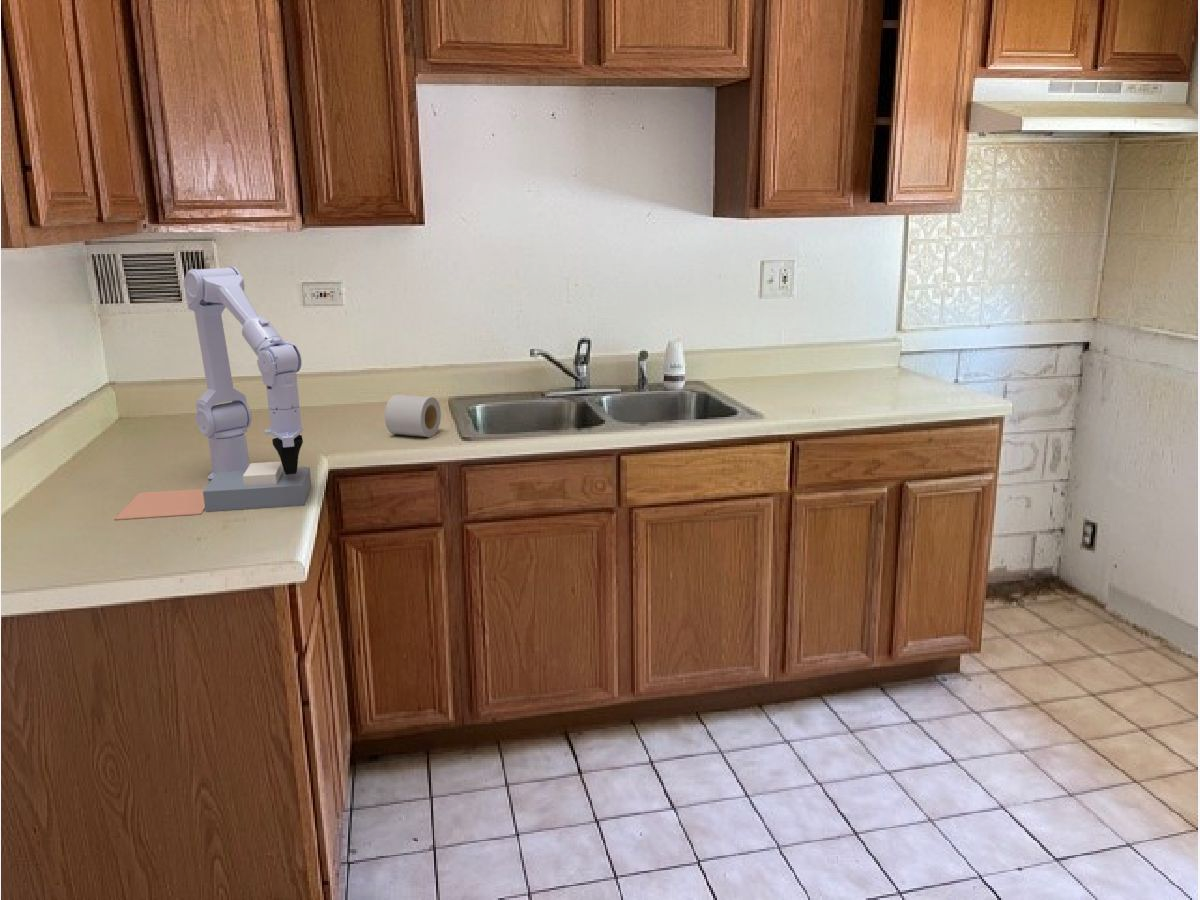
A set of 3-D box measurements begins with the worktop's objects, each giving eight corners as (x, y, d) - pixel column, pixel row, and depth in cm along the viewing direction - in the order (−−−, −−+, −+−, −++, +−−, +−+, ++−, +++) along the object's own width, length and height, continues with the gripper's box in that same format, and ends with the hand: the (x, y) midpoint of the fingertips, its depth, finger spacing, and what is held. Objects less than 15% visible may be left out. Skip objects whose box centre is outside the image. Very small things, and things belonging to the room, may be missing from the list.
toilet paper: (386, 438, 223) (383, 399, 220) (407, 428, 232) (404, 391, 230) (422, 441, 220) (419, 401, 217) (441, 431, 229) (439, 393, 226)
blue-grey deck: (219, 490, 183) (217, 472, 182) (311, 485, 186) (309, 466, 185) (205, 511, 171) (202, 491, 169) (304, 505, 174) (302, 485, 173)
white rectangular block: (251, 472, 181) (250, 463, 181) (282, 470, 182) (281, 461, 182) (243, 486, 173) (242, 476, 172) (276, 484, 174) (275, 474, 173)
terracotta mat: (140, 493, 181) (139, 492, 181) (218, 488, 184) (218, 487, 184) (115, 520, 166) (114, 519, 166) (201, 514, 169) (200, 513, 169)
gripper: (261, 400, 180) (268, 465, 183) (262, 416, 167) (270, 485, 170) (298, 398, 182) (304, 462, 186) (302, 413, 169) (309, 481, 173)
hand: (290, 473), depth 178 cm, fingers closed
